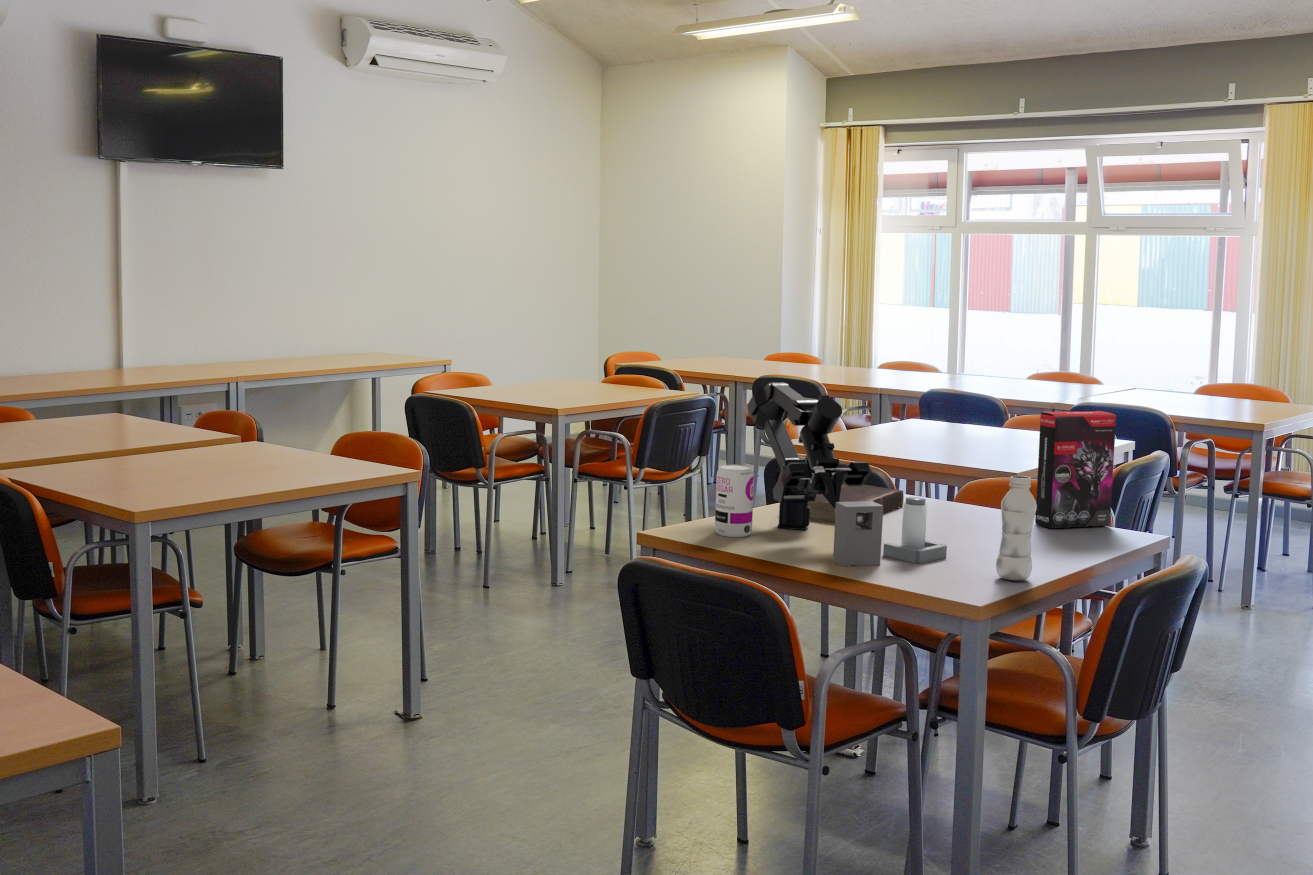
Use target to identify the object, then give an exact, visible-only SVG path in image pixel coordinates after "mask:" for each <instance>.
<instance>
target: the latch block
mask: <svg viewBox="0 0 1313 875" xmlns="http://www.w3.org/2000/svg"><path fill="white" fill-rule="evenodd" d="M860 512H862V513H864V514H865V515H866V516H867V522H866V524H865V525H864V526H861V527H860V526H857V525H856V513H860ZM883 518H884V514H883V506H882V505H880V504H878V503H875V502H873V501H858V502H836V510H835V522H834V535H833V553H832V560H833V561H834V562H835V561H836V562H835V563H837V562H838V563H837V564H839V565H840V564H841V565H840V566H842V565H843V566H842V567H852V566H851V565H861V566H876V565H879V566H880V565H881V558H882V557H881V553H882V541H883V540H882V539H883V538H882V537H883V536H882V535H883V520H884V519H883ZM871 564H872V565H871Z"/></svg>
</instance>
